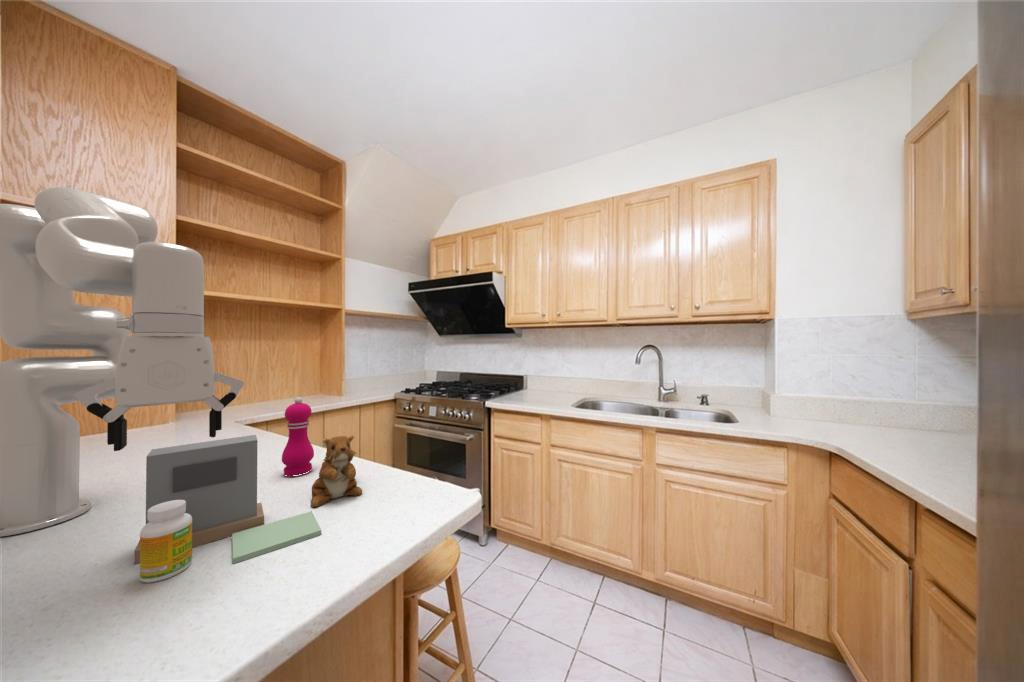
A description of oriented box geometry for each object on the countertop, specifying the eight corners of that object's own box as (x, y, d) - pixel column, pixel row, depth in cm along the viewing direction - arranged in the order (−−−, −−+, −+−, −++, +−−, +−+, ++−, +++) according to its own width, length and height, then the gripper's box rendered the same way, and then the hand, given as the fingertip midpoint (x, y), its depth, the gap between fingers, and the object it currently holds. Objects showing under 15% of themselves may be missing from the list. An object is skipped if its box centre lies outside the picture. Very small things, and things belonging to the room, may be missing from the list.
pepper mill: (291, 468, 91) (291, 395, 91) (318, 467, 92) (319, 394, 92) (275, 478, 84) (275, 399, 84) (305, 477, 84) (305, 399, 85)
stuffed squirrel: (311, 510, 67) (311, 445, 67) (309, 486, 79) (309, 431, 79) (364, 498, 73) (364, 438, 73) (354, 477, 84) (354, 425, 85)
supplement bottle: (176, 579, 47) (177, 511, 48) (128, 587, 46) (129, 517, 46) (200, 556, 53) (200, 495, 53) (157, 563, 51) (158, 499, 51)
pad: (232, 563, 51) (232, 558, 51) (232, 538, 58) (232, 533, 58) (321, 534, 59) (321, 530, 59) (311, 515, 65) (311, 511, 65)
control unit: (134, 564, 51) (135, 459, 51) (143, 543, 56) (144, 449, 56) (264, 526, 61) (264, 440, 61) (261, 512, 67) (261, 432, 67)
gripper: (66, 324, 41) (65, 462, 41) (244, 327, 53) (244, 435, 52) (86, 327, 47) (85, 448, 47) (242, 330, 58) (243, 427, 58)
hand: (169, 441), depth 49 cm, fingers open, 9 cm apart
